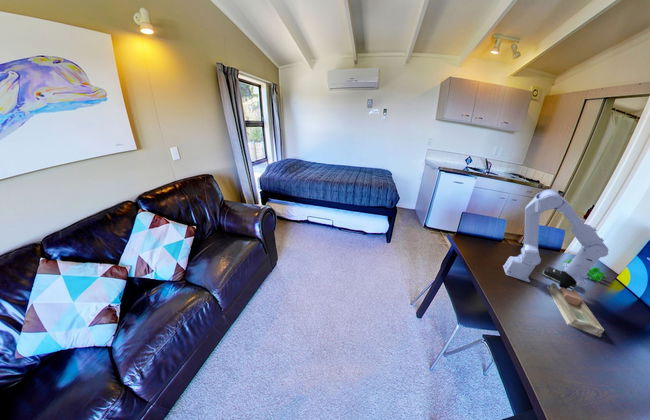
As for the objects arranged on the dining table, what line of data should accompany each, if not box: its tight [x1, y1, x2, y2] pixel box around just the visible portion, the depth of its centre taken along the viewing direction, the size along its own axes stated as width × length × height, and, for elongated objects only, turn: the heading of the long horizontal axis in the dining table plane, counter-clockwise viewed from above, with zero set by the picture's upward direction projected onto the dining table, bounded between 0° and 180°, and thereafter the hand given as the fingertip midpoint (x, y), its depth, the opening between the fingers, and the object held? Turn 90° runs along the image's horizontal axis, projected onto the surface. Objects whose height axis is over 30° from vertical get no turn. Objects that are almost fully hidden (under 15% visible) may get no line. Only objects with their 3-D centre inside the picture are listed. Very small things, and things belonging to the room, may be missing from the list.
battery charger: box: [542, 266, 578, 290], centre depth 102 cm, size 7×4×11 cm
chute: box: [546, 282, 605, 338], centre depth 85 cm, size 9×22×4 cm, turn 150°
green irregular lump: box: [563, 258, 608, 282], centre depth 108 cm, size 15×15×7 cm
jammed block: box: [558, 287, 583, 306], centre depth 89 cm, size 5×5×4 cm
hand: (562, 287), depth 94 cm, fingers closed
